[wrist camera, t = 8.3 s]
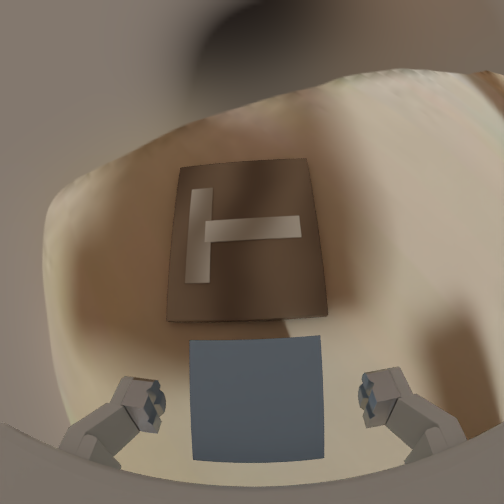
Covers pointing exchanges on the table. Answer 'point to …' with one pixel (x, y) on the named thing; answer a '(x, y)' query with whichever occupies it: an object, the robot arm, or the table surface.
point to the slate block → (257, 400)
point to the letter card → (245, 244)
